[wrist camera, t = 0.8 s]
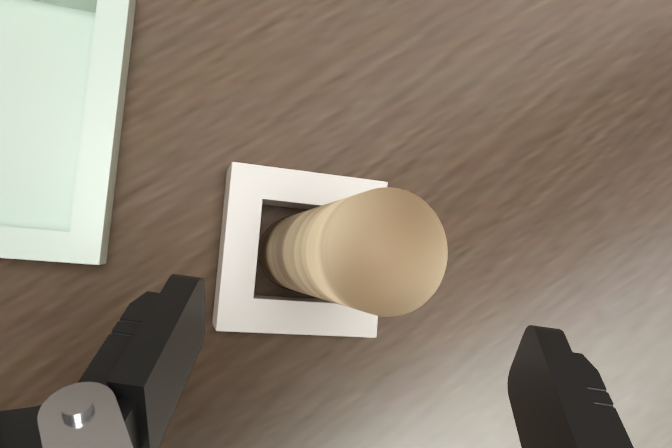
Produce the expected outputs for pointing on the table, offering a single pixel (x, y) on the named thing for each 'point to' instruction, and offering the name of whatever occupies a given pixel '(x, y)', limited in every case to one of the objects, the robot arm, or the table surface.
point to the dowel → (360, 252)
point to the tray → (61, 125)
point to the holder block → (242, 248)
